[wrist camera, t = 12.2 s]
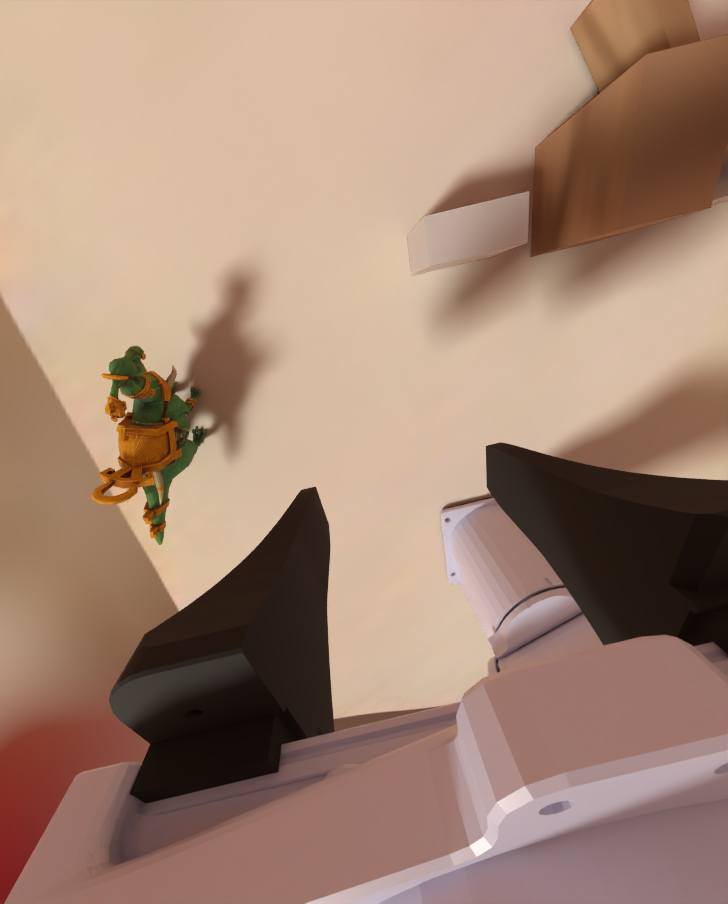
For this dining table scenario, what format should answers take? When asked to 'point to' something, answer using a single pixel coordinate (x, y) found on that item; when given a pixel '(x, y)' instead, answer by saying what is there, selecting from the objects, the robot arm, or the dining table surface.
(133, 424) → the figurine
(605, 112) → the block
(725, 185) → the wall frame
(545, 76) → the dining table surface
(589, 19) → the door
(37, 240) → the dining table surface
